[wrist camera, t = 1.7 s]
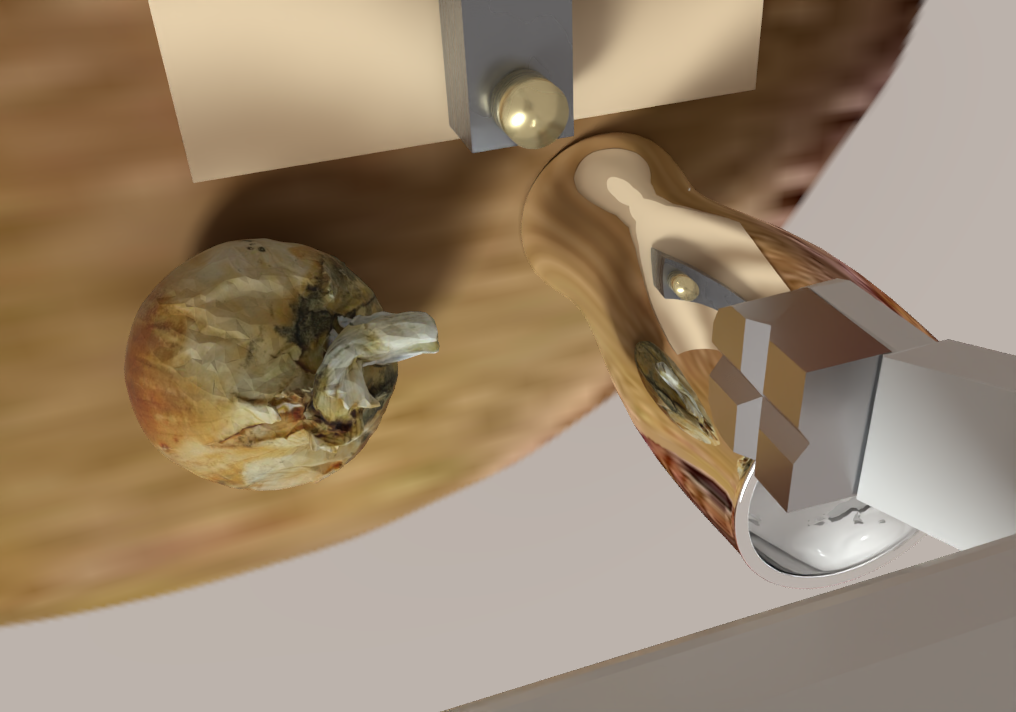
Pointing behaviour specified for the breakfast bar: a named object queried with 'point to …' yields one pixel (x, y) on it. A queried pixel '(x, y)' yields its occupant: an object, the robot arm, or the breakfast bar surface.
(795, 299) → the robot arm
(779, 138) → the breakfast bar surface
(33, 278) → the breakfast bar surface
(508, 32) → the bar
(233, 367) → the onion
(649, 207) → the beer glass
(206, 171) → the door board
